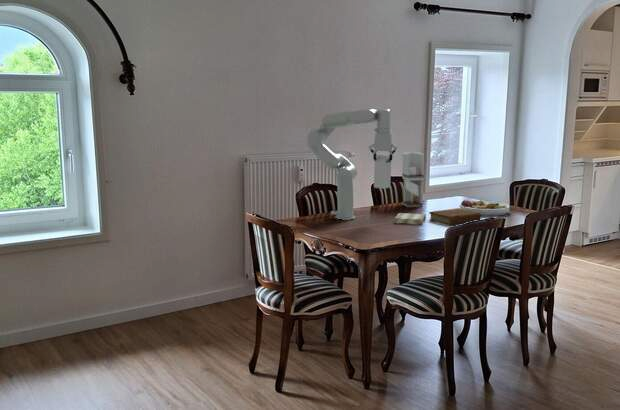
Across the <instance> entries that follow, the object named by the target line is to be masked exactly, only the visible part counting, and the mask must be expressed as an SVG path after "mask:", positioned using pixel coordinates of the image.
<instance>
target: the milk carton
mask: <svg viewBox="0 0 620 410" xmlns="http://www.w3.org/2000/svg"><path fill="white" fill-rule="evenodd" d="M373 167H374V172H373V173H374V174H373V188H376V189H383V190H384V189H388V188H391V178H392V177H391V176H392V161H391V162H390V161H389V155H382V154H377V159H376V161H374V166H373Z"/></svg>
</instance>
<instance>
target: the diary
mask: <svg viewBox="0 0 620 410" xmlns="http://www.w3.org/2000/svg"><path fill="white" fill-rule="evenodd" d="M429 215H430V219H429V220H430V222H433V221H434V223H437V222H438V223H437V224H441V225H445V226H449V227H453V226H458V224H460V225H464V224H463V223H466V222H470V221H474V220H480V219H482V216H481V214H480V213H479V212H474V211H469V210H464V209H460V207H458V208H456V207H455V208H450V209H448V208H447V209H441V210H435V211H429ZM466 224H467V223H466Z"/></svg>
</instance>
